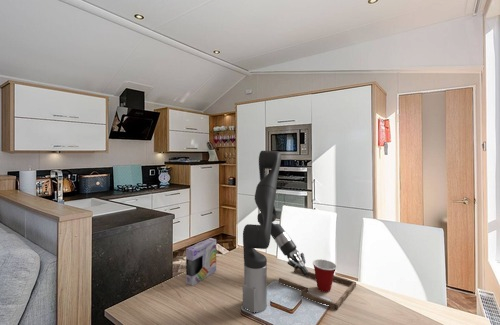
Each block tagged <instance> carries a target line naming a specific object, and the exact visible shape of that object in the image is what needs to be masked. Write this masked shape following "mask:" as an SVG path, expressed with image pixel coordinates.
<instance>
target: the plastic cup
mask: <svg viewBox="0 0 500 325" xmlns="http://www.w3.org/2000/svg"><path fill="white" fill-rule="evenodd" d="M312 265H313V268H314V269H313V271H314V274H315V276H316V279H315V282H316V287H317V290H318V291H319V292H323V293H329V292H331V290H332V285H333V281H334V280H333V276H335V272H336V270H337V269H338V266H337V264H336V263H334V262H332V261H330V260H326V259H314V260H312Z"/></svg>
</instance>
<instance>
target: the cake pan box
mask: <svg viewBox="0 0 500 325" xmlns="http://www.w3.org/2000/svg"><path fill="white" fill-rule="evenodd" d="M216 271H217V239H216V238H212V237H210V238H207V239H205V240H202V241H200V242H198V243H195V244H194V245H192V246H189V247H186V249H185V282H186V285H188V286H191V287H194V286H195V285H196V284H198V283H200V282H201V281H203V280H204V279H206V278H208V277H209V276H211V275H212V274H213V273H215V272H216Z"/></svg>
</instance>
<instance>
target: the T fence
mask: <svg viewBox="0 0 500 325" xmlns="http://www.w3.org/2000/svg"><path fill="white" fill-rule="evenodd" d="M293 271H294V273H297V274H299V275H302V276H305V275H304V274H303V273H302V272H301V270H300V269H295V268H294V267H293ZM308 272H309V273H308V274H307V275H306V277H309V278H312V279H315V280H316V276H315V272H311V271H308ZM333 281H335V282H337V283H341V284H343V285H348V286H349V287H348V288H347V289H346V290H345V291H344V292H343V294H342V295H341V296H340V297H339V299H337V301H336V302H333V301H330V300H327V299H325V298H322V297H320V296H317V295H315V294H311V293H309V288H308V287H306V286H304V285H301V284H298V283H296V282H292V281H289V280H286V279H284V278H280V277H279V278H278V283H279V284H280V283H282V284H281V285H283V284H285V285H284V286H286V285H288V286H287V287H289V286H291V287H294V288H296V289H295V290H297V289H299V290H301V291H300V297H301V296H303V297H302V298H304V297H305V298H304V299H306V298H308V299H307V300H309V299H310V301H312V300H313V301H312V302H314V301H316V302H315V303H317V302H319V303H322V304H326V305H329V307H328V308H330V309H333V310H334V311H335V310H336V311H338V310H339V308H340V307H341V306H342V304H344V302H345V301H346V300H347V298H348V297H349V296H350V294H352V293H353V290H355V288H356V287H357V282H356V281H353V280H350V279H347V278H343V277H341V276H337V275H334V276H333ZM291 287H290V288H291ZM294 288H293V289H294ZM299 290H298V291H299ZM307 292H308V293H307ZM319 303H318V304H319ZM322 304H321V305H322Z"/></svg>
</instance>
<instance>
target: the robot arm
mask: <svg viewBox="0 0 500 325" xmlns="http://www.w3.org/2000/svg"><path fill="white" fill-rule="evenodd" d="M281 161H282V155H281V153H280V151H277V150H261V151H260V152H259V156H258V171H259V182H258V184H257V185H256V188H255V193H254V202H255V204H256V207H257V208H258V210H259V213H258V214H257V222H258V223H259V224H249V223H248V224H245V226H244V228H243V230H242V245H243V246H242V247H243V248H242V249H243V271H244V272H243V274H244V275H243V280H244V281H243V284H242V308H243V307H245V308H246V309H248V310H250V311H251V312H250V311H249V312H250V313H252V312H254V313H253V314H256V313H258V312H257V311H261V312H264V309H265V310H266V309H267V308H268V307H267V306H268V300H267V298H268V295H267V294H268V293H267V291H268V286H267V284H268V281H267V279H268V276H267V273H268V272H267V270H268V266H267V265H268V264H267V263H268V261H267V260H268V259H267V257H266V256H265V255H264V254H263V253H261V252H259V251H257V250H258V249H260V250H266V249H267V250H268V248H269V246H270V242H271V238H272V239H273V240H274V242H275V243H276V245H277V246H278V248H279V250H280V251H281V252H282V254H283V255H284V256H285V257H286V258H287V259H288V261H287V262H286V263H287V265H289V266H290V267H291V268H293V269H294V268H295V269H300V270H301V272H302V273H303V274H304V275H303V276H304V277H305V276H306V275H307V274H308V273H309V272H310V271H309V270H308V269H307V267H306V266H305V264H306V258H305V254H304V253H303V252H299V250H297V245H296V243H295V242H294V240H292V238H291V237H290V235H289V234H288V233H287V232H286V230H284V228H283V226H282V225H281V224H280V223H274V222H275V221H276V218H277V211H276V206H275V200H276V193H277V184H278V177H279V172H280V167H281ZM266 169H267V170H270V171H269V172H268V174H267V172H266ZM256 249H257V250H256ZM306 277H307V276H306ZM246 309H245V310H246ZM248 310H247V311H248ZM255 312H256V313H255Z"/></svg>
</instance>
